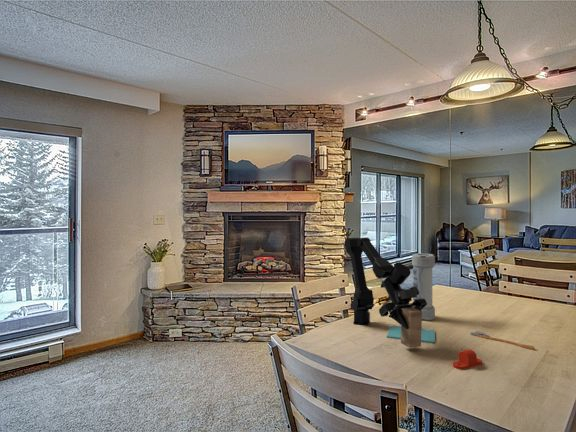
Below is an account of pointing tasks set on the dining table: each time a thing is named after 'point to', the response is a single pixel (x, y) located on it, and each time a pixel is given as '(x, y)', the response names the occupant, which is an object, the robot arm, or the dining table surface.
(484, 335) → the axe
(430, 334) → the mat
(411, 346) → the walnut block
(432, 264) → the canister
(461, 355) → the bracket
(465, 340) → the dining table surface
